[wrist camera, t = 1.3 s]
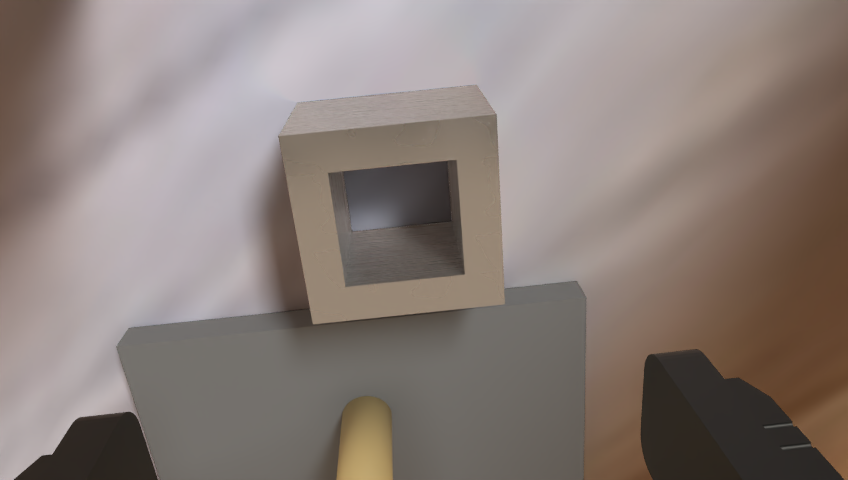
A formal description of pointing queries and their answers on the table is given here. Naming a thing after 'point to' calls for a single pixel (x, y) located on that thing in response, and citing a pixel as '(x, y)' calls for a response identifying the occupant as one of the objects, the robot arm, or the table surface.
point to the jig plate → (368, 393)
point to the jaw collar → (408, 245)
